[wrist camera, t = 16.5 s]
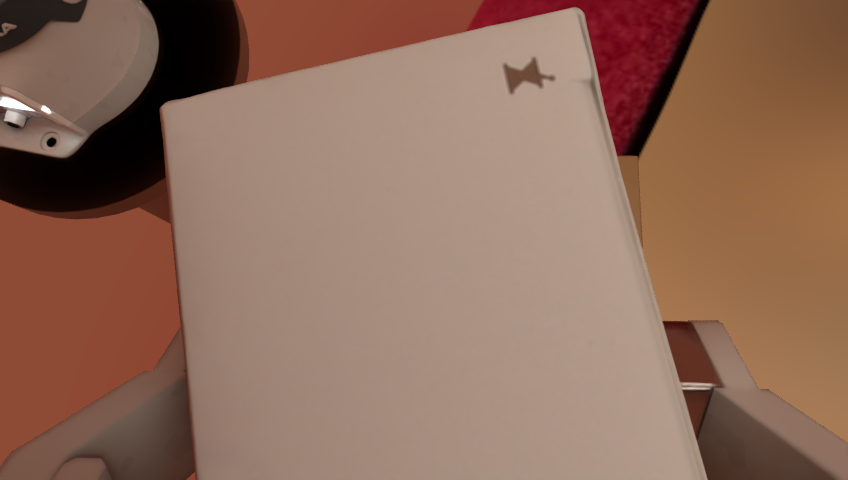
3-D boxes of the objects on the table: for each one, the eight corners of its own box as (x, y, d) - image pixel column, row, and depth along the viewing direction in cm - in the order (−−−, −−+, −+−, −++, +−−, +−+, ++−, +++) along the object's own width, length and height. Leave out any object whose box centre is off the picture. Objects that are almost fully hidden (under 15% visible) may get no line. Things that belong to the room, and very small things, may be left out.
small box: (345, 251, 18) (145, 83, 8) (532, 212, 17) (584, -19, 7) (390, 541, 16) (203, 835, 6) (601, 505, 16) (803, 751, 5)
